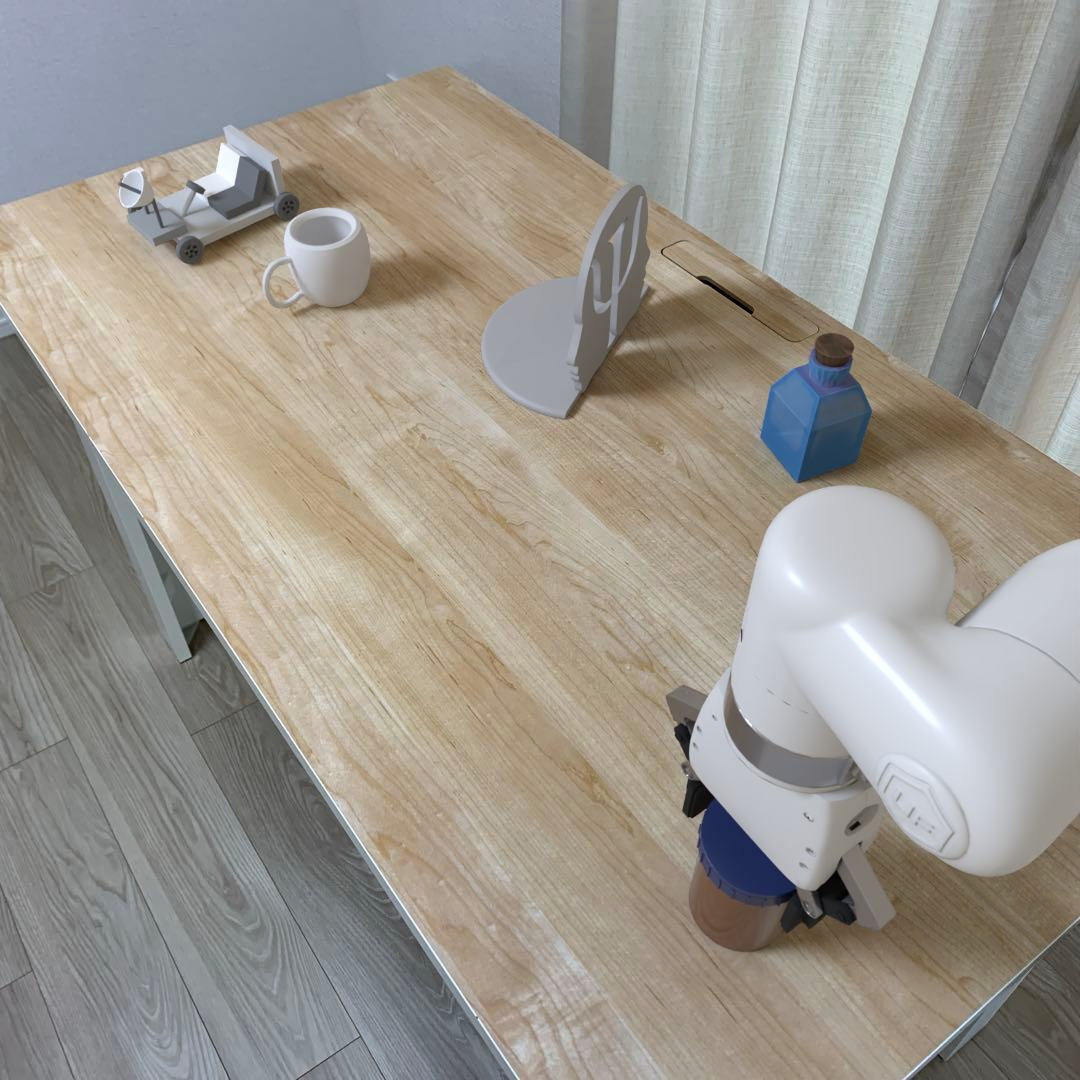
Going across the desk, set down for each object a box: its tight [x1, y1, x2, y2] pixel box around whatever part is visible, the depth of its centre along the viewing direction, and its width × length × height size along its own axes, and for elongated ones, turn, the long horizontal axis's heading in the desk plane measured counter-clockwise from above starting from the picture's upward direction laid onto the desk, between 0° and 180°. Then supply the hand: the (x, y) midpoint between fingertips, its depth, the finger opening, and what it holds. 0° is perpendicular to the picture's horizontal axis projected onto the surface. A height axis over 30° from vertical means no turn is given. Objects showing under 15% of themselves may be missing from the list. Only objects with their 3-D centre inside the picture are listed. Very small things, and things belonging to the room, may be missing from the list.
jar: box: [688, 852, 789, 953], centre depth 64 cm, size 6×6×9 cm
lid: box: [696, 798, 798, 908], centre depth 61 cm, size 7×7×2 cm
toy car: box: [117, 124, 301, 265], centre depth 115 cm, size 18×10×12 cm
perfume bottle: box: [759, 332, 873, 484], centre depth 90 cm, size 6×6×12 cm
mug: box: [261, 207, 372, 309], centre depth 106 cm, size 12×8×8 cm
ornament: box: [480, 182, 651, 420], centre depth 99 cm, size 22×13×17 cm, turn 155°
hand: (751, 856), depth 63 cm, fingers open, 8 cm apart
